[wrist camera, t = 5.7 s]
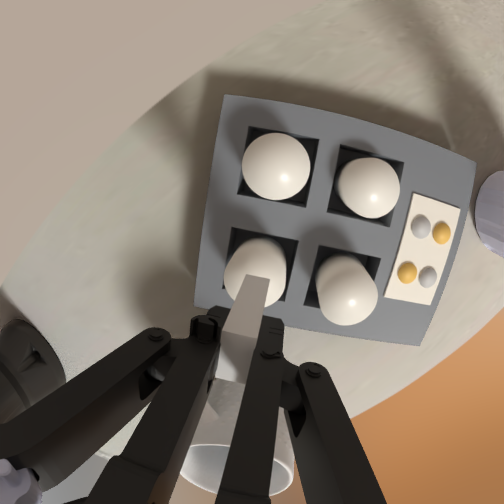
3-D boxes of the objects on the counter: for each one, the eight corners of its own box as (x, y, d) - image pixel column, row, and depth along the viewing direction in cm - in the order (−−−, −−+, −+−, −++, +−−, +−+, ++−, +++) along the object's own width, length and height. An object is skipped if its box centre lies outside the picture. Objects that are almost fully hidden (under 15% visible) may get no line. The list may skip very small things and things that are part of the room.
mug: (171, 339, 32) (120, 418, 20) (257, 309, 30) (235, 400, 17) (231, 422, 35) (211, 500, 23) (309, 403, 33) (310, 491, 20)
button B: (246, 187, 24) (236, 193, 19) (255, 134, 22) (248, 127, 18) (300, 198, 23) (303, 206, 19) (310, 145, 22) (315, 140, 18)
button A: (231, 278, 26) (219, 301, 22) (239, 230, 25) (228, 244, 20) (280, 289, 26) (278, 313, 21) (291, 241, 24) (291, 257, 20)
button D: (329, 202, 25) (337, 210, 20) (339, 153, 23) (349, 150, 19) (375, 214, 24) (392, 224, 20) (386, 166, 23) (405, 166, 19)
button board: (205, 288, 30) (192, 307, 25) (233, 104, 24) (223, 93, 20) (407, 326, 28) (420, 348, 24) (455, 161, 23) (479, 162, 18)
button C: (309, 294, 25) (312, 320, 21) (321, 247, 24) (328, 265, 20) (356, 303, 25) (366, 329, 21) (370, 257, 24) (385, 277, 20)
